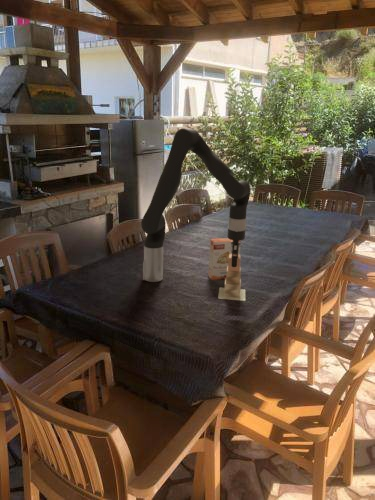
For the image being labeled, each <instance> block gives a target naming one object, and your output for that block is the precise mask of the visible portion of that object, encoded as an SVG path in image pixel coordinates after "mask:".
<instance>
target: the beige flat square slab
mask: <svg viewBox="0 0 375 500" xmlns="http://www.w3.org/2000/svg"><path fill="white" fill-rule="evenodd" d="M224 288H225V287H219V289H218V297H217V299H219V300H220V299H221V300H232V301H241V302H242V301H244V302H246V289H243V288H241V289H240V298H236V297H224Z"/></svg>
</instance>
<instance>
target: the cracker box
mask: <svg viewBox="0 0 375 500" xmlns="http://www.w3.org/2000/svg"><path fill="white" fill-rule="evenodd" d="M209 241H210V243H209V258H208V270H207V273H208V274H207V276H208V277H209V279H210V280H212V281H214V280H225V278H226V276H227V266H228V264H229V254H231V241H233V240H230V239H228V237H225V238H220V237H219V238H210V240H209ZM239 242H240V248H239V254H238V255H241V254H240V253H241V246H242V245H241V244H242V240H240V241H239Z"/></svg>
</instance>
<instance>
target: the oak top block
mask: <svg viewBox="0 0 375 500" xmlns="http://www.w3.org/2000/svg"><path fill="white" fill-rule="evenodd" d="M241 269H242V268H241V266H240V272H238V271H228V266H227V276H226V284H235V285H240V279H241V272H242V271H241Z"/></svg>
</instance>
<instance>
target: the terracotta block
mask: <svg viewBox="0 0 375 500" xmlns="http://www.w3.org/2000/svg"><path fill="white" fill-rule="evenodd" d="M233 256H237V255H235V254H233ZM241 258H242V257H241V254H240V255H238V259H237V267H232V254H229V264H228V271H238V272H240V267H241Z"/></svg>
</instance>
